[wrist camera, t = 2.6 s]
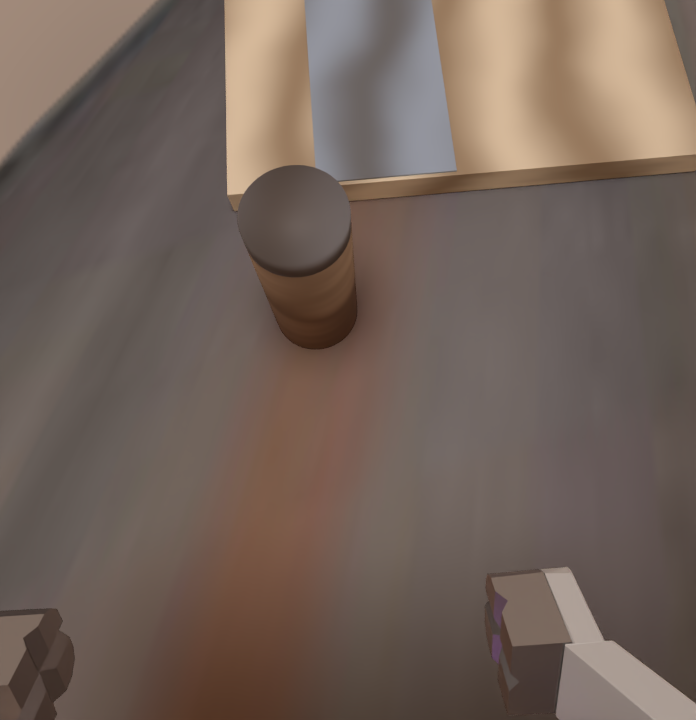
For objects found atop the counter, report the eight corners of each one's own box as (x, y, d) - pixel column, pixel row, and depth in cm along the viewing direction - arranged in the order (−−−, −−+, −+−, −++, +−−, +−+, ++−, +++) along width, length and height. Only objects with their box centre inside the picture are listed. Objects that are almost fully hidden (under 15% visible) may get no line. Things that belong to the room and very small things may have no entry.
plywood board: (635, -33, 36) (647, -59, 34) (694, 171, 31) (711, 151, 30) (230, 5, 36) (223, -19, 35) (234, 211, 32) (226, 193, 30)
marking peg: (353, 270, 31) (346, 160, 22) (360, 345, 29) (354, 259, 21) (274, 277, 31) (236, 170, 22) (277, 352, 29) (238, 269, 21)
